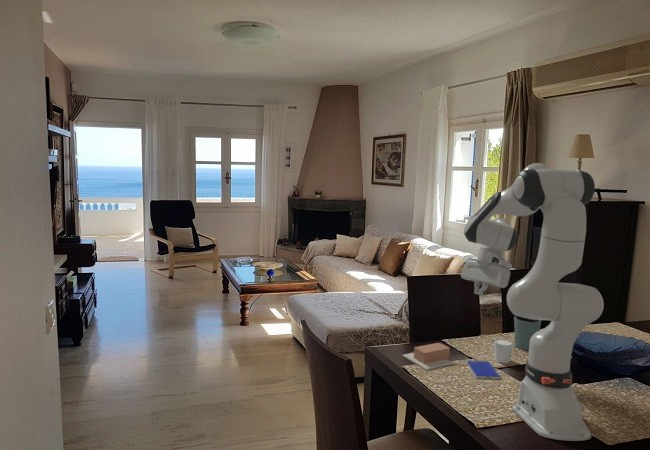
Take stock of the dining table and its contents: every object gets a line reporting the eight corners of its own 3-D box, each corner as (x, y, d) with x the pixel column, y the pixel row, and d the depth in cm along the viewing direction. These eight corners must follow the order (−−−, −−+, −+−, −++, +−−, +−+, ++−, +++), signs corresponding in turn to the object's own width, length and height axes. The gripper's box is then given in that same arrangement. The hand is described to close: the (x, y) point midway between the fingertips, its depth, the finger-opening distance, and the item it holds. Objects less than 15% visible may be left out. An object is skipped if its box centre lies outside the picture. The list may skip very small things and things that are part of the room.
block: (449, 348, 177) (424, 353, 171) (449, 358, 177) (423, 363, 172) (439, 342, 182) (414, 347, 177) (438, 352, 183) (413, 357, 177)
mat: (454, 364, 173) (454, 362, 173) (426, 370, 167) (426, 368, 167) (429, 350, 186) (429, 349, 186) (402, 355, 180) (402, 354, 180)
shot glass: (515, 364, 175) (516, 346, 174) (496, 363, 175) (497, 345, 174) (508, 357, 181) (509, 339, 181) (490, 356, 182) (491, 338, 181)
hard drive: (466, 360, 174) (476, 375, 162) (489, 361, 174) (500, 376, 162) (466, 364, 175) (476, 379, 162) (488, 365, 174) (500, 380, 162)
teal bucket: (532, 353, 185) (534, 324, 184) (507, 346, 193) (509, 317, 191) (543, 347, 192) (545, 319, 191) (518, 340, 200) (521, 312, 198)
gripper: (463, 254, 189) (452, 287, 187) (505, 260, 171) (494, 297, 169) (473, 259, 192) (463, 291, 190) (516, 266, 174) (505, 302, 172)
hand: (478, 294), depth 179 cm, fingers closed
